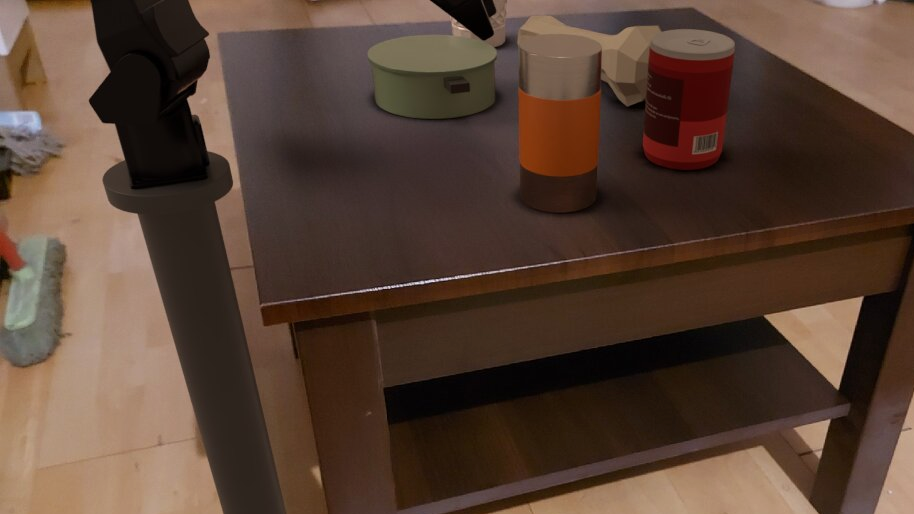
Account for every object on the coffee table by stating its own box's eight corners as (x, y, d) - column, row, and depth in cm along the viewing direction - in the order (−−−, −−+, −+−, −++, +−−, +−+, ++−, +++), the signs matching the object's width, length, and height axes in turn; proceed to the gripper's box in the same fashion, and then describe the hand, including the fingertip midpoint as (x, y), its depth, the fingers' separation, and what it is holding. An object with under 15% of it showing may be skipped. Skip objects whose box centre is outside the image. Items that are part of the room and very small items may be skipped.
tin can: (538, 218, 72) (538, 61, 65) (508, 187, 77) (504, 37, 70) (610, 205, 75) (617, 52, 67) (576, 176, 80) (580, 30, 72)
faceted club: (627, 111, 91) (490, 63, 107) (681, 117, 97) (543, 70, 113) (647, 24, 88) (502, -12, 104) (701, 35, 94) (556, -1, 110)
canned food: (728, 147, 87) (743, 34, 81) (710, 177, 80) (725, 57, 74) (655, 135, 89) (664, 24, 83) (631, 163, 82) (639, 46, 76)
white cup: (437, 45, 112) (431, -38, 106) (467, 30, 118) (463, -49, 113) (491, 53, 110) (489, -31, 104) (519, 38, 116) (518, -42, 110)
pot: (397, 133, 86) (392, 83, 84) (354, 81, 99) (349, 36, 96) (523, 116, 92) (523, 69, 89) (468, 68, 104) (466, 26, 102)
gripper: (466, -230, 56) (582, -4, 63) (477, -219, 72) (569, -39, 79) (323, -137, 58) (452, 71, 65) (365, -146, 74) (465, 22, 81)
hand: (490, 26), depth 73 cm, fingers open, 9 cm apart
